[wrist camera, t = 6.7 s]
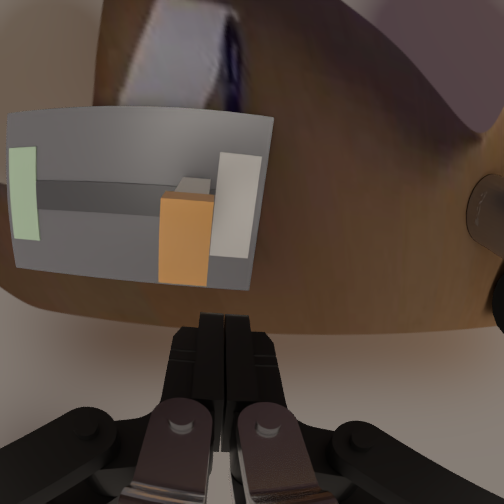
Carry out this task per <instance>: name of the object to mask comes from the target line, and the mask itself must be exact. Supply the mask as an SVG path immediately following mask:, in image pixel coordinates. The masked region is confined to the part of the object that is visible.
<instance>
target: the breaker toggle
mask: <svg viewBox="0 0 504 504" xmlns="http://www.w3.org/2000/svg"><path fill="white" fill-rule="evenodd" d="M210 182H211V179H202V178H190V177H183V178H182V180H181V181H180V183H179V184H178V186H177V188H176V189H175V191H165V193H164V194H163V195H162V197H161V202H160V224H159V272H158V282H160V283H172V284H183V285H195V286H207V273H208V261H209V249H210V238H211V227H212V217H213V207H214V195H211V194H209V191H210Z"/></svg>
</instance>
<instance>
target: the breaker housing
mask: <svg viewBox="0 0 504 504" xmlns="http://www.w3.org/2000/svg"><path fill="white" fill-rule="evenodd" d="M273 122H274V117H267V116H260V115H252V114H244V113H236V112H227V111H217V110H206V109H193V108H177V107H155V106H90V107H71V108H70V107H69V108H55V109H43V110H32V111H24V112H16V113H9V114H8V116H7V136H6V138H7V139H6V175H7V196H8V209H9V220H10V229H11V237H12V244H13V251H14V257H15V263H16V267H18V268H25V269H33V270H40V271H48V272H56V273H64V274H72V275H81V276H90V277H99V278H108V279H117V280H127V281H137V282H148V283H159V284H170V285H181V286H193V287H206V288H219V289H233V290H248V291H249V287H250V280H251V273H252V266H253V260H254V253H255V246H256V239H257V232H258V225H259V219H260V212H261V205H262V198H263V191H264V184H265V177H266V170H267V163H268V157H269V150H270V143H271V136H272V129H273ZM183 177H190V178H202V179H211V182H210V191H209V194H211V195H214V207H213V217H212V227H211V238H210V249H209V261H208V273H207V286H195V285H183V284H172V283H160V282H158V272H159V224H160V202H161V197H162V195H163V194H164V193H165V191H175V189H176V188H177V186H178V184H179V183H180V181H181V180H182V178H183Z"/></svg>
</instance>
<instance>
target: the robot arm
mask: <svg viewBox="0 0 504 504" xmlns="http://www.w3.org/2000/svg"><path fill="white" fill-rule="evenodd" d="M467 226H468V230H469V233H470V235H471V237H472V238H473V239H474V240H475V241H476V242H478V243H480V244H481V245H483V246H484V247H486V248H488V249H489V250H491V251H492V252H494V253H495V254H497V255H498V256H500V257H501V258H503V259H504V177H502V176H499V175H494V174H491V175H488V176H486V177H484V178H483V179H482V180H481V181H480V182H479V183H478V184H477V186H476V187H475V189H474V190H473V193H472V195H471V197H470V200H469V204H468V209H467ZM220 435H221V452H230V470H229V481H230V488H231V495H232V502H233V504H504V499H503V498H501V497H499V496H497V495H495V494H493V493H491V492H489V491H487V490H485V489H483V488H481V487H479V486H477V485H475V484H474V483H472V482H470V481H468V480H466V479H464V478H462V477H460V476H459V475H456V474H455V473H453V472H451V471H449V470H447V469H446V468H444V467H442V466H440V465H439V464H437V463H435V462H433V461H432V460H430V459H428V458H426V457H425V456H423V455H421V454H420V453H418V452H416V451H414V450H413V449H411V448H410V447H408V446H406V445H405V444H403V443H401V442H400V441H398V440H396V439H395V438H393V437H392V436H390V435H388V434H387V433H385V432H384V431H382V430H380V429H379V428H377V427H376V426H374V425H372V424H370V423H367V422H363V421H349V422H346V423H344V424H342V425H340V426H339V427H338V428H337V429H336V430H335V431H331V430H326V429H320V428H316V427H312V426H308V425H306V424H303V423H302V422H300V421H298V420H297V419H296V417H295V416H294V414H293V413H292V412H291V411H290V410H288V408H287V405H286V401H285V397H284V392H283V387H282V382H281V378H280V372H279V368H278V363H277V358H276V353H275V349H274V344H273V342H272V341H271V339H270V338H269V337H268V336H267V335H266V333H265V332H251V329H250V321H249V316H248V315H233V314H225V320H224V314H218V313H206V312H200V320H199V328H194V327H183V326H182V327H181V328H180V330H179V331H178V332H177V333H176V334H175V335H174V336H173V341H172V345H171V351H170V355H169V361H168V365H167V370H166V376H165V381H164V387H163V392H162V397H161V401H160V403H159V404H158V405H157V406H156V407H155V408H154V410H153V411H152V412H151V413H149V414H147V415H145V416H143V417H140V418H136V419H129V420H119V421H114V420H113V419H112V418H111V416H110V415H108V414H107V413H106V412H104V411H103V410H100V409H98V408H94V407H80V408H76V409H74V410H71V411H69V412H67V413H66V414H64V415H62V416H61V417H59V418H57V419H55V420H53V421H51V422H49V423H48V424H46V425H44V426H42V427H40V428H38V429H37V430H35V431H33V432H31V433H29V434H27V435H25V436H24V437H22V438H20V439H18V440H16V441H14V442H12V443H10V444H8V445H6V446H4V447H3V448H1V449H0V504H206V502H207V492H208V482H209V475H210V474H211V471H212V462H213V452H219V445H220Z"/></svg>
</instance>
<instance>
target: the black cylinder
mask: <svg viewBox="0 0 504 504" xmlns="http://www.w3.org/2000/svg"><path fill="white" fill-rule="evenodd" d="M492 307H493V315H494V318H495V321H496V324H497V326H498V327H499V328H500V330H501V331H502V332H503V333H504V274H503V275H502V277H501V278H500V279H499V280H498V282H497V285H496V288H495V290H494V293H493V300H492Z"/></svg>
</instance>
